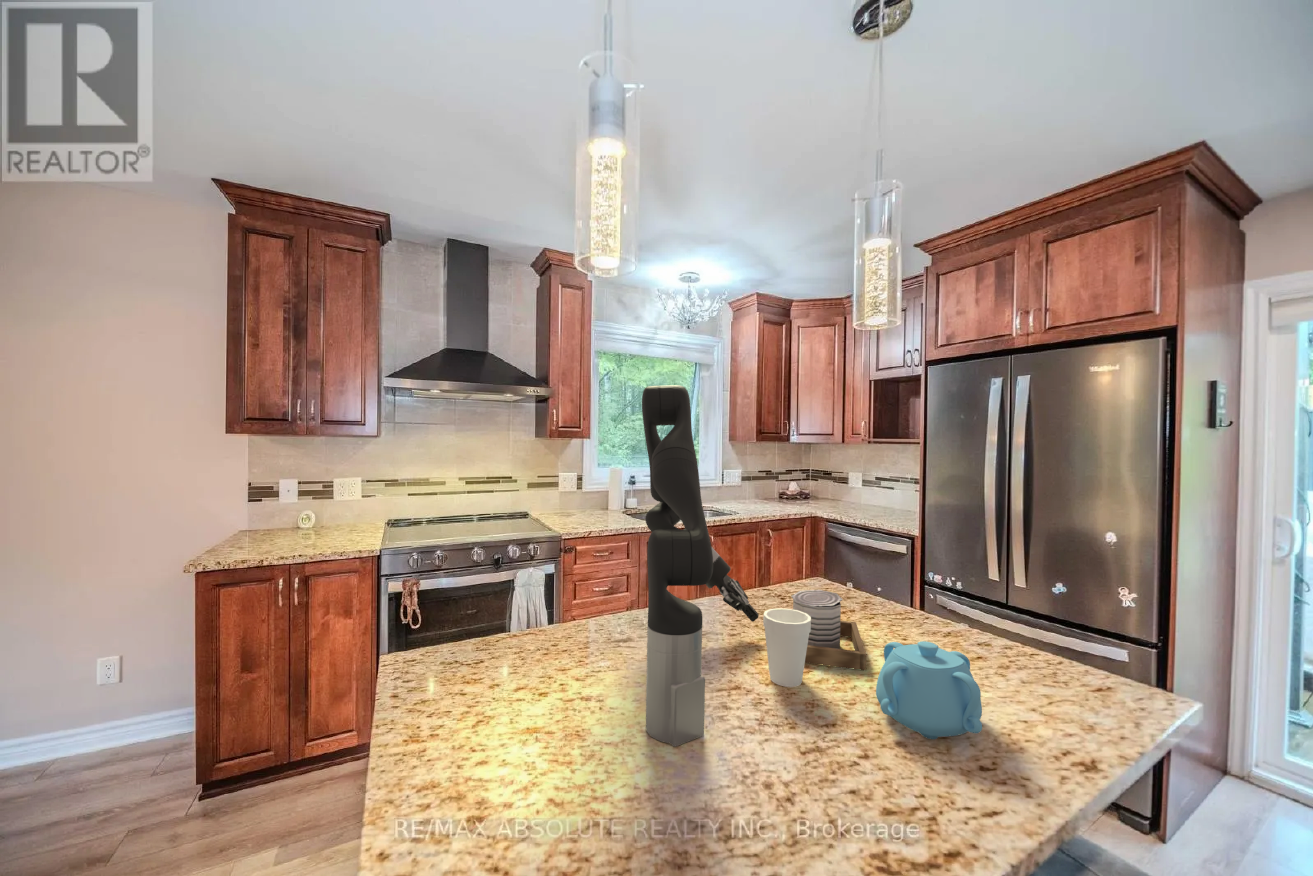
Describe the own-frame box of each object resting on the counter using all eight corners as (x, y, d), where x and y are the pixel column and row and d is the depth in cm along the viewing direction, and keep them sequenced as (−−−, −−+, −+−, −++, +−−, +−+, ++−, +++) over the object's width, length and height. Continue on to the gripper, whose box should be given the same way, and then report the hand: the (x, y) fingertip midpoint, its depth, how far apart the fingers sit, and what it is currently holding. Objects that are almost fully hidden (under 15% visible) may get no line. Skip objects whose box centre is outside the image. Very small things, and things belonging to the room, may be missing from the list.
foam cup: (805, 670, 108) (806, 609, 108) (814, 692, 99) (815, 625, 99) (760, 668, 109) (761, 607, 109) (764, 688, 100) (766, 622, 100)
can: (849, 655, 117) (849, 603, 117) (800, 655, 116) (801, 603, 116) (829, 636, 128) (830, 588, 128) (784, 636, 127) (785, 588, 127)
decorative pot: (882, 690, 100) (883, 621, 101) (979, 713, 92) (979, 638, 92) (870, 730, 86) (871, 649, 87) (982, 761, 78) (983, 672, 78)
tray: (770, 658, 114) (771, 642, 114) (775, 626, 134) (775, 613, 134) (865, 670, 109) (866, 654, 109) (855, 636, 128) (856, 622, 128)
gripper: (714, 560, 122) (765, 618, 118) (722, 549, 135) (769, 601, 131) (691, 580, 123) (741, 638, 120) (702, 568, 136) (747, 619, 132)
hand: (756, 618), depth 125 cm, fingers closed
